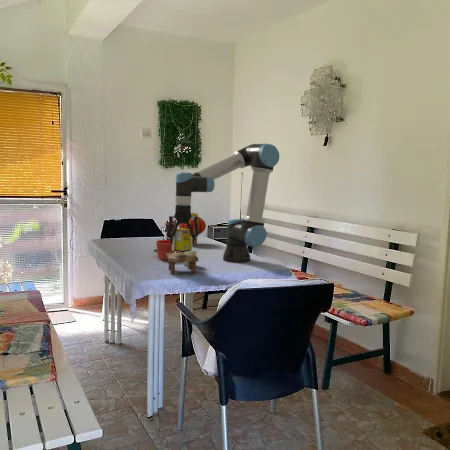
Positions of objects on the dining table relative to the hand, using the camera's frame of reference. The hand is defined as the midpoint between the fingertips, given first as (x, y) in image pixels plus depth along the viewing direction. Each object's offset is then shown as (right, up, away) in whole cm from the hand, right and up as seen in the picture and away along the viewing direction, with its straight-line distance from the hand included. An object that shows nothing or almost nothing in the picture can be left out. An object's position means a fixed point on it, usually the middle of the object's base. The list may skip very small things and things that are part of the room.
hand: (182, 250), depth 238 cm
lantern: (0, 0, +76) cm, 76 cm away
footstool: (0, -10, +1) cm, 11 cm away
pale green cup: (+3, -9, +14) cm, 17 cm away
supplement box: (0, -1, 0) cm, 0 cm away
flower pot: (-12, -6, +29) cm, 32 cm away
